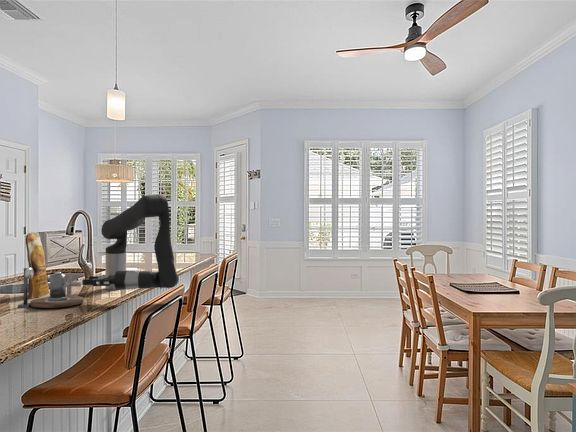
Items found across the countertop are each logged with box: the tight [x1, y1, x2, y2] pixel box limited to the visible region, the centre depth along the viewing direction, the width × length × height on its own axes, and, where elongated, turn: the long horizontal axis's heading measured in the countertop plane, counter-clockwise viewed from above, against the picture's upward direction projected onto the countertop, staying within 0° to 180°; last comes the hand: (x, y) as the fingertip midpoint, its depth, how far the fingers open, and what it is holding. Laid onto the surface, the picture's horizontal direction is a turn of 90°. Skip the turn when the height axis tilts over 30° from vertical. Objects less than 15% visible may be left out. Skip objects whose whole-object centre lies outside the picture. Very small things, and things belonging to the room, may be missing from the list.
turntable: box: [29, 295, 85, 309], centre depth 179 cm, size 19×19×2 cm
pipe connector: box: [66, 272, 82, 296], centre depth 199 cm, size 10×10×10 cm
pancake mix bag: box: [25, 232, 50, 299], centre depth 199 cm, size 7×19×28 cm, turn 8°
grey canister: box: [47, 271, 68, 302], centre depth 179 cm, size 7×7×11 cm
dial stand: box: [17, 267, 33, 309], centre depth 175 cm, size 4×4×15 cm
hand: (85, 280), depth 181 cm, fingers open, 8 cm apart
